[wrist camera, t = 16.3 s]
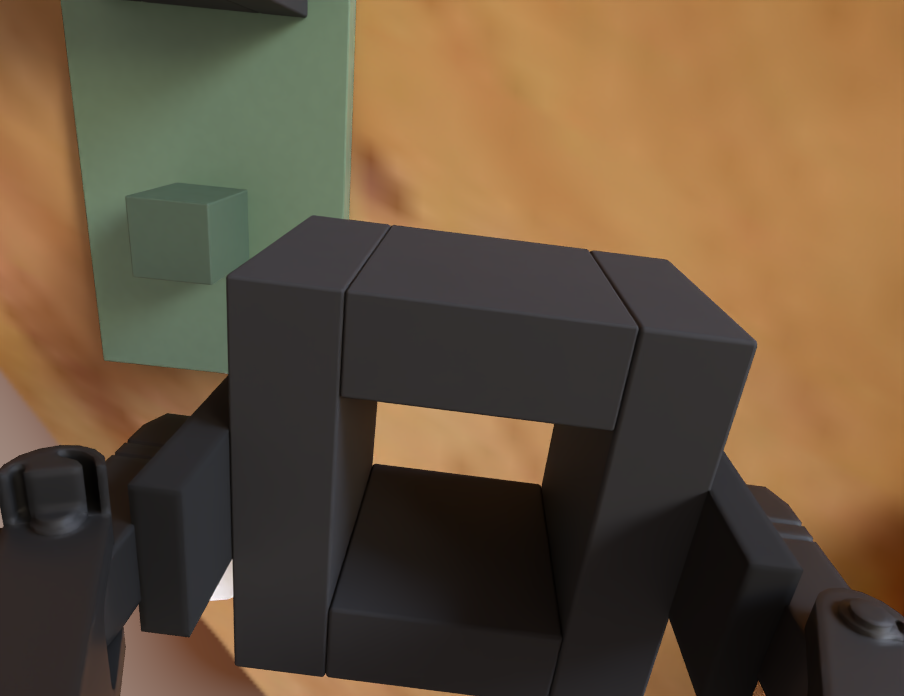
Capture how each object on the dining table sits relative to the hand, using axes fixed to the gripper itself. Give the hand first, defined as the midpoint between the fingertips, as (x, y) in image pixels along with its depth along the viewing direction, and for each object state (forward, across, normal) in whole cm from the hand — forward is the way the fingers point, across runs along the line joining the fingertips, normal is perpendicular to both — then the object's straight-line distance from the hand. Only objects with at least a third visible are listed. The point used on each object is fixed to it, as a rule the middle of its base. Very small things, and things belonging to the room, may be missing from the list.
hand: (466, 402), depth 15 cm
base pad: (+14, +11, -7) cm, 19 cm away
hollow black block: (0, 0, 0) cm, 0 cm away
